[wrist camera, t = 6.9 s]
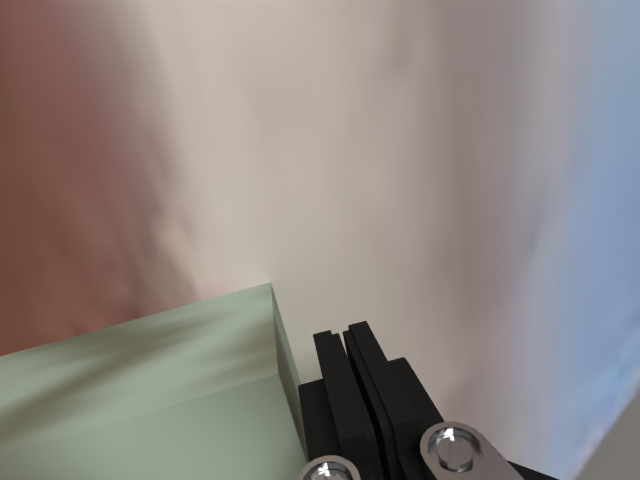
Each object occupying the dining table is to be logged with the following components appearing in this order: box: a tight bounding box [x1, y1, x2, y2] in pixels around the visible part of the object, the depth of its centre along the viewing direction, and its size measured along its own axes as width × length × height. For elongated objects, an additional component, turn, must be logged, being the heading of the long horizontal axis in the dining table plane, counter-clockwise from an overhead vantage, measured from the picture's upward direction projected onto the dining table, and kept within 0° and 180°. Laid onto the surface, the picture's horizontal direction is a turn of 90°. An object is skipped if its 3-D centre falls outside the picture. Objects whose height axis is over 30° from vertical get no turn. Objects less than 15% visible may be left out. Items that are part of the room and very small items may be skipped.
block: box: [0, 282, 309, 480], centre depth 13 cm, size 12×8×6 cm, turn 103°
